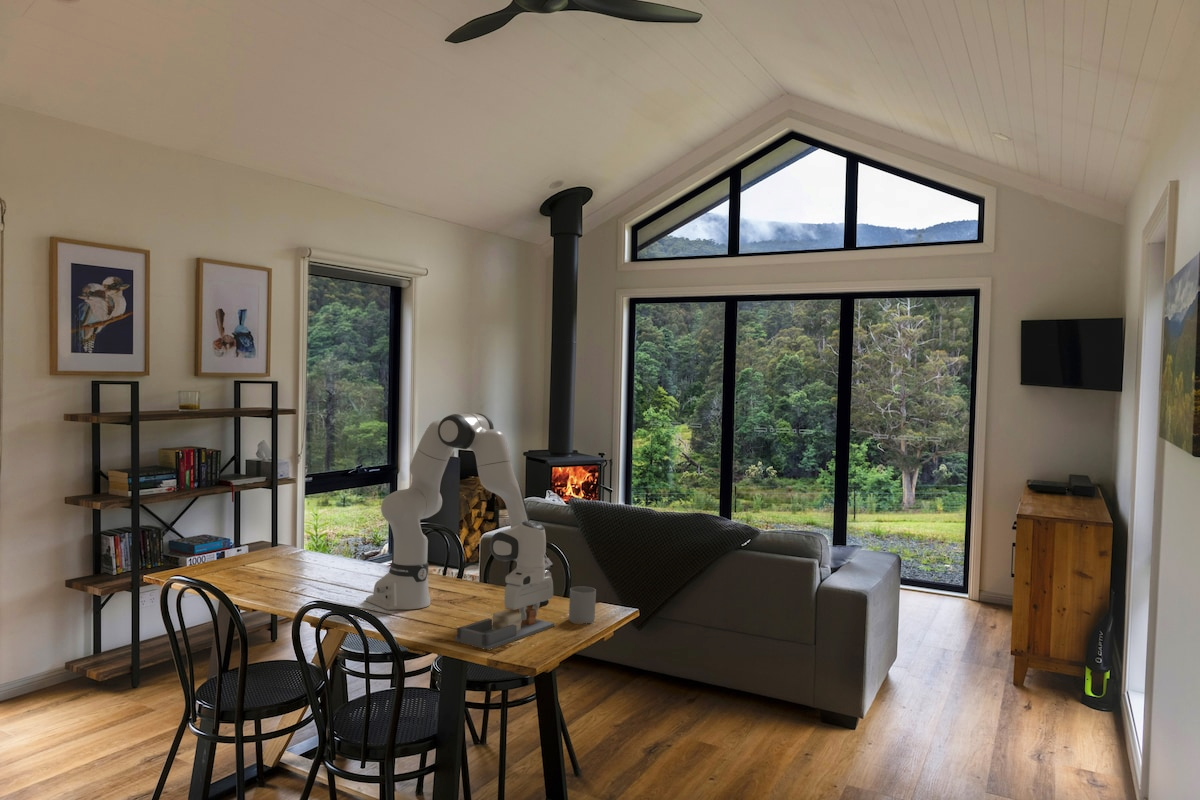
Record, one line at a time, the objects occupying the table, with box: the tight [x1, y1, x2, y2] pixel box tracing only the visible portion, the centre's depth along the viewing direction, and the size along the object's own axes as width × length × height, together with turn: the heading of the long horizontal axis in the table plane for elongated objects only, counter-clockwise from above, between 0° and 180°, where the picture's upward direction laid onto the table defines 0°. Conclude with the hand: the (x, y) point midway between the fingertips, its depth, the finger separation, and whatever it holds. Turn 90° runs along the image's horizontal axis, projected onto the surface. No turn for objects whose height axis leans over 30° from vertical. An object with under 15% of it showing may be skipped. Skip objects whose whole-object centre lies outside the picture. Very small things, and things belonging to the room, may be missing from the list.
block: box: [492, 607, 537, 631], centre depth 250 cm, size 6×15×5 cm, turn 146°
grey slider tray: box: [453, 618, 555, 651], centre depth 246 cm, size 13×31×4 cm, turn 146°
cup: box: [568, 585, 597, 625], centre depth 264 cm, size 8×8×10 cm
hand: (528, 618), depth 255 cm, fingers closed on block, 3 cm apart
